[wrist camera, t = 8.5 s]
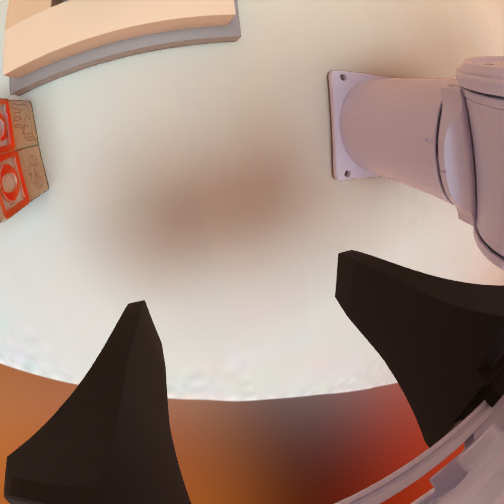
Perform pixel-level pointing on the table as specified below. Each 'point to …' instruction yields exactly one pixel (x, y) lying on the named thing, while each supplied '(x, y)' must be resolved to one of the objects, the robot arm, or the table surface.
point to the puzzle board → (104, 33)
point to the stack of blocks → (18, 158)
